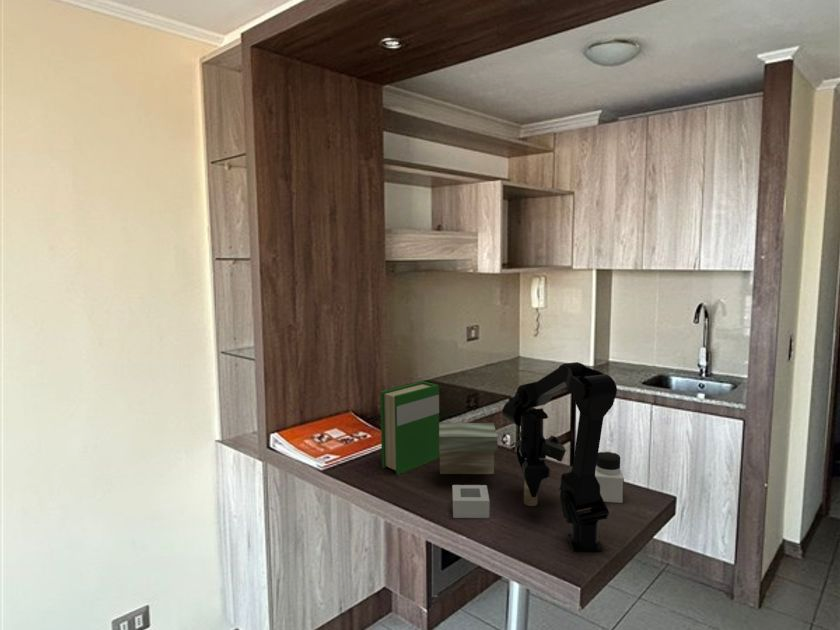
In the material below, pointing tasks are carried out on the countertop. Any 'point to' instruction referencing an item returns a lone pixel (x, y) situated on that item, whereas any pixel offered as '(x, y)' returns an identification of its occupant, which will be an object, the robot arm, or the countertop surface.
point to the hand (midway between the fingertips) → (531, 489)
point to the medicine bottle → (610, 477)
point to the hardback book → (409, 426)
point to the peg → (529, 496)
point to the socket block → (470, 501)
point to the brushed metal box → (467, 448)
